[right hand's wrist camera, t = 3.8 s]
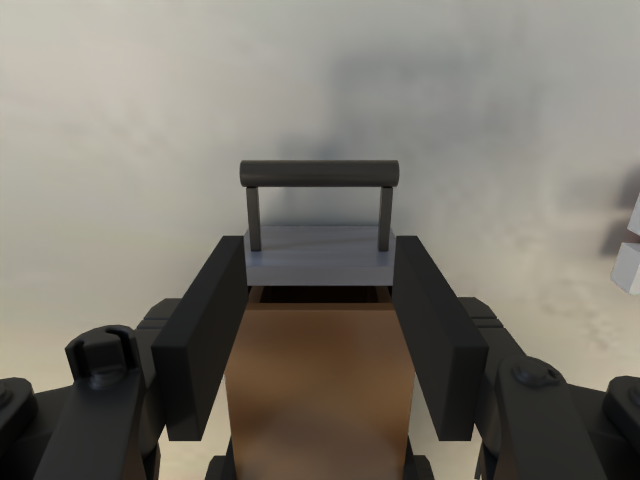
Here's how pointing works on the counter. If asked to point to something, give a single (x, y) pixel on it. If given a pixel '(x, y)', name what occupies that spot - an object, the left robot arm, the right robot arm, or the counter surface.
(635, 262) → the toy
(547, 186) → the counter surface
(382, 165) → the drawer
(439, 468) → the counter surface
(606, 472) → the right robot arm
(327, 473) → the cabinet
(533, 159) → the counter surface
